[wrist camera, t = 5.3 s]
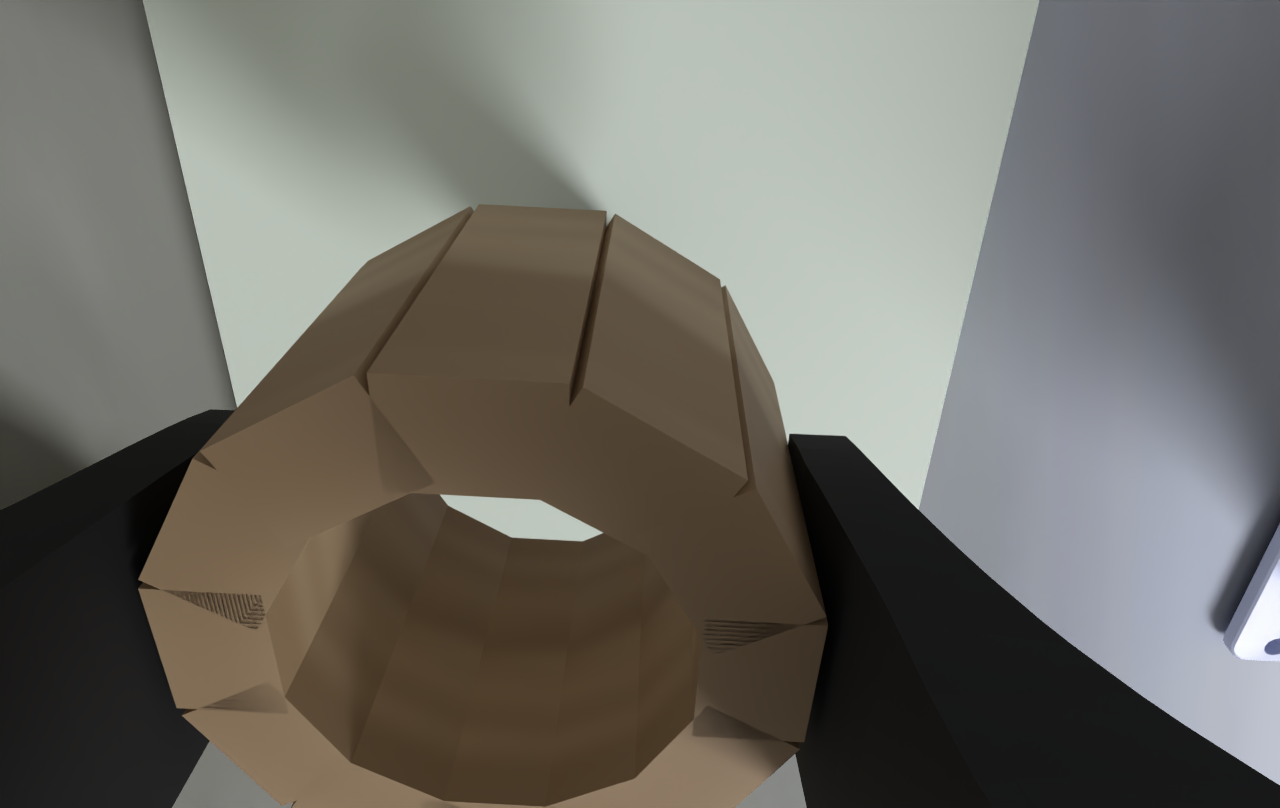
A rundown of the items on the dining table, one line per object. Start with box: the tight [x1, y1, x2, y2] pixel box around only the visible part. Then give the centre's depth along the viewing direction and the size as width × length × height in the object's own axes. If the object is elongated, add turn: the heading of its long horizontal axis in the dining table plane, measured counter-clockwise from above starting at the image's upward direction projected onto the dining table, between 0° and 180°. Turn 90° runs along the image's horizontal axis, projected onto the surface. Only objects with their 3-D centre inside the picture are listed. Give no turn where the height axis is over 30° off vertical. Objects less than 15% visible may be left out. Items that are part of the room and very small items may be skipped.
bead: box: [138, 204, 828, 808], centre depth 9 cm, size 6×6×4 cm
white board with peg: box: [143, 0, 1039, 541], centre depth 14 cm, size 14×14×5 cm
